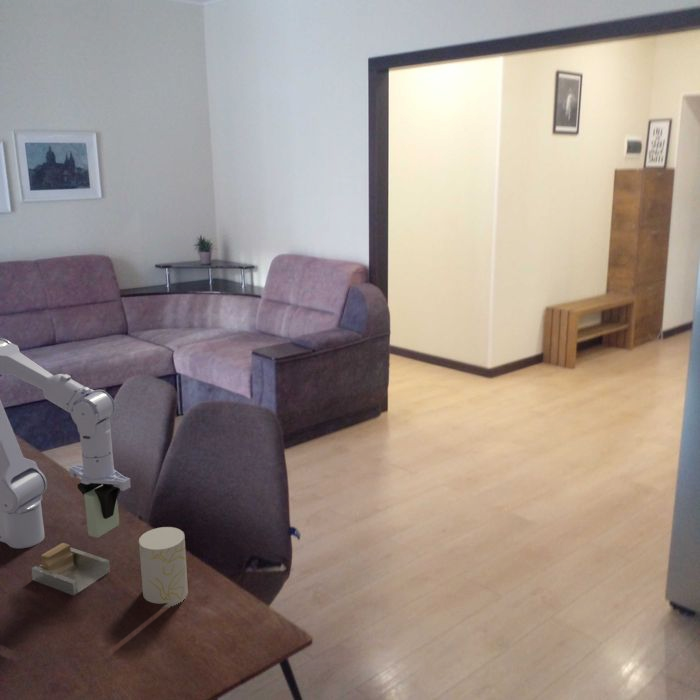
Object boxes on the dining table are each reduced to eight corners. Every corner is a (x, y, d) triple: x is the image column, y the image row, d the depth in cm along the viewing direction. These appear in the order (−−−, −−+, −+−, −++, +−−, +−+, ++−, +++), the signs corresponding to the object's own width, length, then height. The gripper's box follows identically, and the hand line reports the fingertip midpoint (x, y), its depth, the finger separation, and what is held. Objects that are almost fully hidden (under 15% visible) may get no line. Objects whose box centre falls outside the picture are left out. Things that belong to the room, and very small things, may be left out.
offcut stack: (40, 576, 136) (38, 556, 135) (65, 561, 142) (63, 542, 140) (49, 579, 135) (47, 559, 134) (73, 564, 140) (71, 544, 139)
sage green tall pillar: (88, 534, 141) (83, 494, 139) (110, 521, 146) (106, 482, 144) (97, 537, 140) (93, 496, 138) (119, 524, 145) (115, 484, 143)
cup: (154, 613, 127) (150, 554, 124) (136, 593, 133) (131, 536, 130) (195, 597, 132) (192, 539, 129) (176, 578, 138) (172, 522, 135)
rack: (33, 584, 135) (31, 568, 135) (70, 562, 143) (68, 546, 142) (74, 600, 131) (72, 583, 130) (110, 575, 138) (109, 560, 138)
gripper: (54, 452, 139) (61, 515, 142) (109, 466, 132) (115, 531, 136) (82, 440, 145) (88, 501, 148) (136, 453, 138) (140, 516, 142)
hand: (102, 514), depth 142 cm, fingers closed on sage green tall pillar, 2 cm apart
